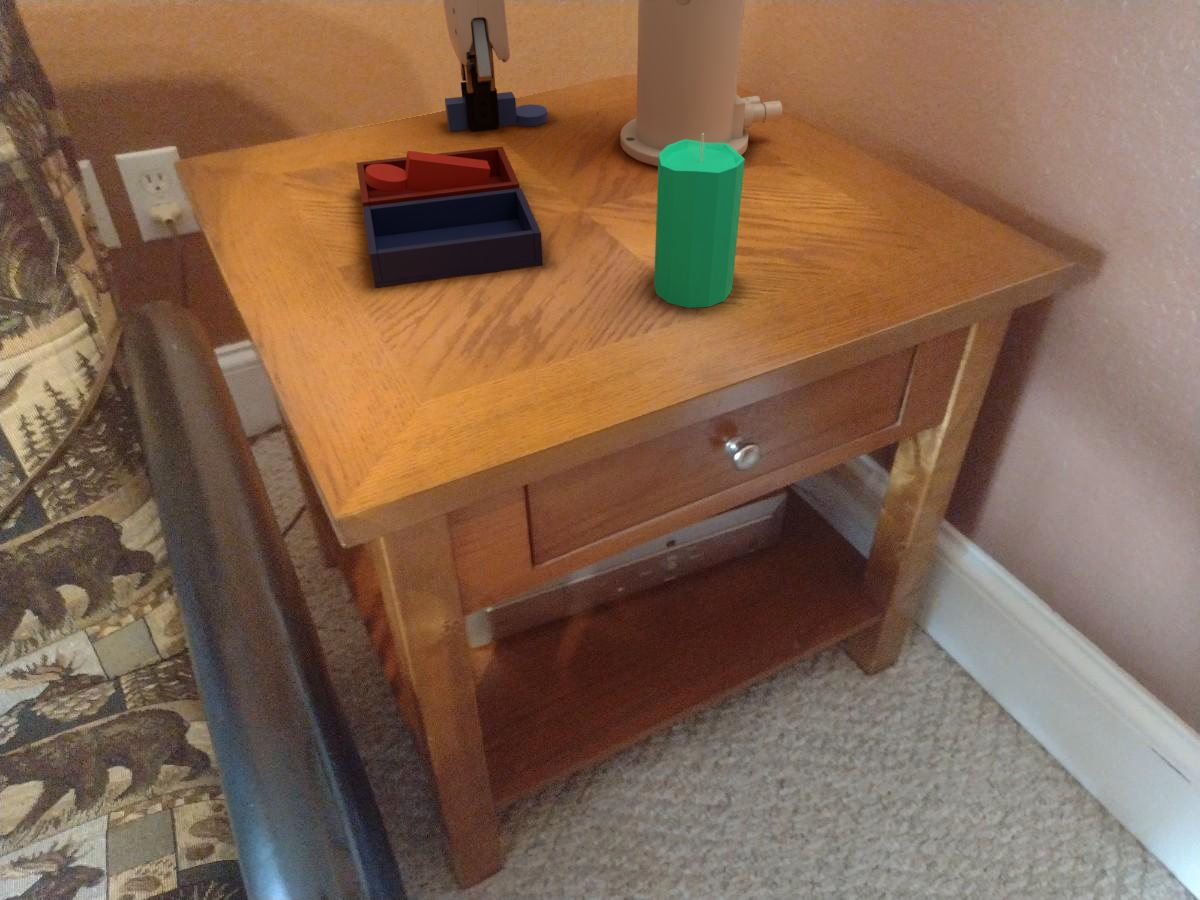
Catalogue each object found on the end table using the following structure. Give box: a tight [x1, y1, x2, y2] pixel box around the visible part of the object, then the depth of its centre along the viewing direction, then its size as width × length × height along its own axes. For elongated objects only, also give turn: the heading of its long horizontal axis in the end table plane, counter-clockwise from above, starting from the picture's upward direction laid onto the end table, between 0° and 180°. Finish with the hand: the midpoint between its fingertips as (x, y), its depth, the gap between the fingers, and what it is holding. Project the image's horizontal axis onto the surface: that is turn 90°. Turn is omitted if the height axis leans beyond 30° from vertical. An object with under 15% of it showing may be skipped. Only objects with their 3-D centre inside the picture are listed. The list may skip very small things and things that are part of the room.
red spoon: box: [365, 150, 490, 192], centre depth 79 cm, size 10×4×3 cm, turn 104°
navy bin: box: [362, 187, 544, 289], centre depth 74 cm, size 13×8×3 cm, turn 105°
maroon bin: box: [355, 146, 521, 208], centre depth 80 cm, size 13×8×3 cm, turn 105°
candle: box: [653, 133, 746, 309], centre depth 66 cm, size 6×6×12 cm
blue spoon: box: [444, 91, 549, 133], centre depth 94 cm, size 10×4×3 cm, turn 105°
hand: (482, 123), depth 95 cm, fingers closed on blue spoon
